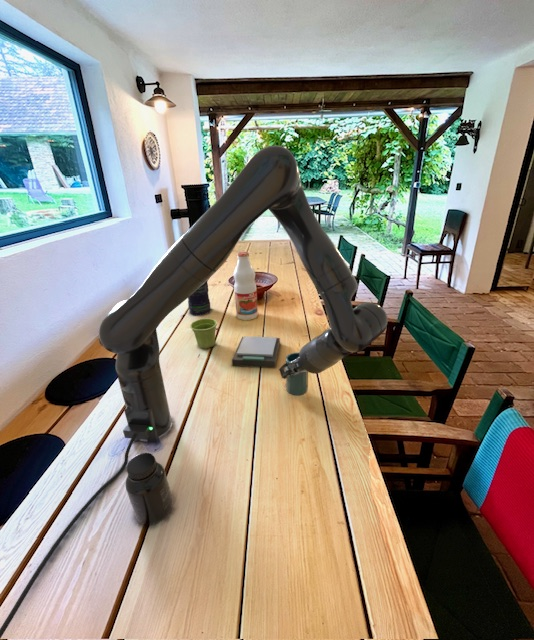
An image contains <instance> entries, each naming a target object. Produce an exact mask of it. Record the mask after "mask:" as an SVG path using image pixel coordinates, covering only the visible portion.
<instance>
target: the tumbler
mask: <svg viewBox="0 0 534 640" xmlns="http://www.w3.org/2000/svg"><path fill="white" fill-rule="evenodd" d="M299 353H300V352H291V353H289V354H287V356H286V357H285V363H288V364H289V363H290V362H292V361H294V360H296V359H297V358H298V357H299ZM297 371H300V370H297ZM291 372H292V370H291ZM285 389H286V392H287V393H288V394H289V395H291V396H296V397H300V396H304V395H306V394H307V393H308V391H309V372H308V371H306V372H302V373H299V374H297V375H291V376H290V377H288V378H286V379H285Z"/></svg>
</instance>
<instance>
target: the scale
mask: <svg viewBox="0 0 534 640" xmlns="http://www.w3.org/2000/svg"><path fill="white" fill-rule="evenodd" d="M280 345H281V338H280V337H273V336H272V337H271V336H241V339H240V341H239V343H238V345H237V348H236V350H235V352H234V354H233V355H232V358H231V365H232V366H233V367H253V368H273V369H274V368H276V363H277V359H278V355H279V350H280Z"/></svg>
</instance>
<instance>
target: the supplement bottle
mask: <svg viewBox="0 0 534 640" xmlns="http://www.w3.org/2000/svg"><path fill="white" fill-rule="evenodd" d="M126 472H127V477H126V479H125V490H126V493H127V496H128V499H129V501H130V504H131V507H132V510H133V513H134V516H135V518H136V520H137V521H138V522H139V523H140V524H142V525H146V526H148V525H154V524H158V523H159V522H162V521H163V520H164V519H165V518H166V517H167V516H168V514H169V513H170V512H171V510H172V507H173V496H172V492H171V489H170V485H169V481H168V477H167V474H166V470H165V467H164V466H163V465H162V464H160V463H159V462H157V459H156V457H155V455H154V454H153V453H150V452H142V453H139V454H136V455H134V456H133V457H132V458H131V459H130V460H128V462H127V465H126Z"/></svg>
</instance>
